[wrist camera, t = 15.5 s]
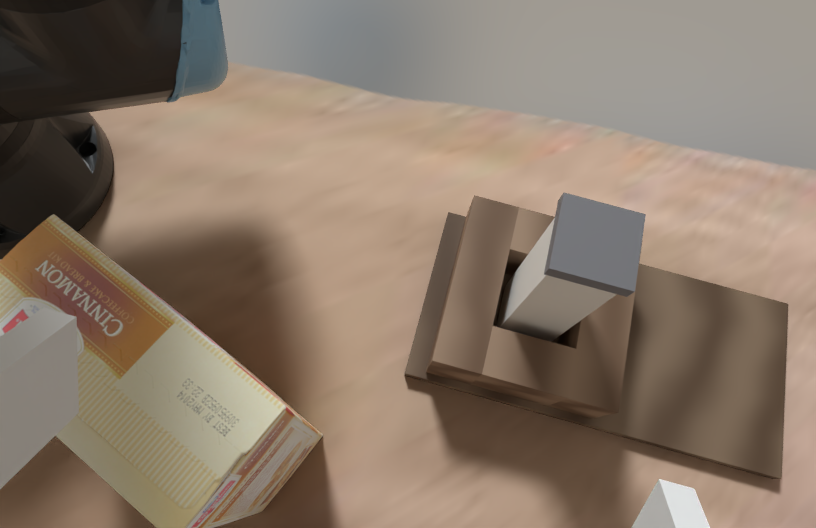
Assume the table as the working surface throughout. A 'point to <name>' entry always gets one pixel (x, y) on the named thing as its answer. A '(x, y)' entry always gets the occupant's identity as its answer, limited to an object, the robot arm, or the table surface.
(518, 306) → the post
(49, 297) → the coffeecake box
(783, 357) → the wooden socket base
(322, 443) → the table surface
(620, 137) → the table surface
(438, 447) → the table surface
